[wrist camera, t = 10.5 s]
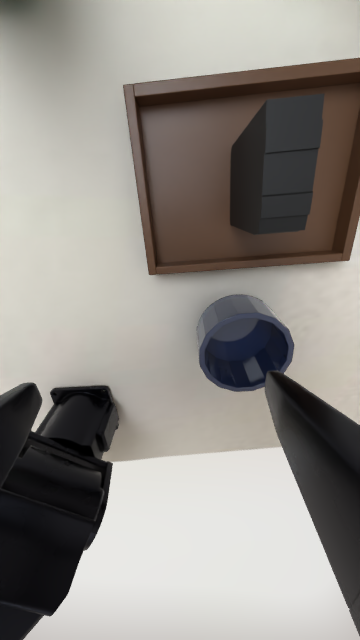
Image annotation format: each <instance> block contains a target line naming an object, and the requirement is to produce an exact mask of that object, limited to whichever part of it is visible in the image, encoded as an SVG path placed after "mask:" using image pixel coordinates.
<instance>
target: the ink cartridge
mask: <svg viewBox="0 0 360 640" xmlns="http://www.w3.org/2000/svg"><path fill="white" fill-rule="evenodd" d="M324 95H325V93H324V94H315V95H305V96H296V97H287V98H278V99H269V100H266V101H265V103H264V104H263V105H262V107H261V108H260V109H259V111H258V112H257V113H256V115H255V116H254V117H253V119H252V120H251V121H250V123H249V124H248V125H247V127H246V128H245V129H244V131H243V132H242V133H241V135H240V136H239V137H238V139H237V140H236V141H235V143H234V144H233V145H232V148H231V163H230V225H231V226H234V227H236V228H239V229H241V230H244V231H246V232H248V233H251V234H253V235H260V234H272V233H285V232H297V231H300V230H305V227H306V222H307V218H308V215H309V214H310V210H311V204H312V198H313V184H314V178H315V171H316V164H317V157H318V150H319V148H320V144H321V135H322V127H323V119H322V114H323V104H324Z"/></svg>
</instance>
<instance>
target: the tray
mask: <svg viewBox="0 0 360 640" xmlns="http://www.w3.org/2000/svg"><path fill="white" fill-rule="evenodd" d="M123 88H124V96H125V103H126V110H127V118H128V125H129V132H130V140H131V147H132V154H133V161H134V169H135V176H136V183H137V191H138V198H139V205H140V213H141V220H142V227H143V235H144V242H145V249H146V257H147V264H148V271H149V275H156V274H170V273H184V272H197V271H211V270H225V269H239V268H253V267H266V266H280V265H294V264H308V263H322V262H336V261H349V260H350V255H351V251H352V247H353V242H354V238H355V234H356V229H357V225H358V221H359V216H360V58H354V59H345V60H336V61H328V62H319V63H310V64H301V65H293V66H284V67H275V68H266V69H258V70H249V71H240V72H231V73H223V74H214V75H205V76H197V77H188V78H179V79H170V80H162V81H153V82H144V83H135V84H127V85H123ZM324 93H325V95H324V104H323V114H322V119H323V127H322V135H321V144H320V148H319V150H318V157H317V164H316V171H315V178H314V184H313V198H312V204H311V210H310V214H309V215H308V218H307V222H306V227H305V230H300V231H297V232H285V233H272V234H260V235H253V234H251V233H248V232H246V231H244V230H241V229H239V228H236V227H234V226H231V225H230V163H231V148H232V145H233V144H234V143H235V141H236V140H237V139H238V137H239V136H240V135H241V133H242V132H243V131H244V129H245V128H246V127H247V125H248V124H249V123H250V121H251V120H252V119H253V117H254V116H255V115H256V113H257V112H258V111H259V109H260V108H261V107H262V105H263V104H264V103H265V101H266V100H269V99H278V98H287V97H296V96H305V95H315V94H324Z"/></svg>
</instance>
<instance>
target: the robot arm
mask: <svg viewBox="0 0 360 640" xmlns="http://www.w3.org/2000/svg"><path fill="white" fill-rule="evenodd" d="M103 390H105V391H103ZM265 394H266V398H267V401H268V405H269V408H270V412H271V415H272V419H273V422H274V426H275V429H276V432H277V435H278V438H279V440H280V443H281V445H282V448H283V450H284V453H285V455H286V457H287V460H288V462H289V465H290V467H291V470H292V472H293V474H294V477H295V479H296V481H297V484H298V487H299V489H300V492H301V494H302V496H303V499H304V501H305V504H306V506H307V508H308V511H309V513H310V515H311V518H312V521H313V523H314V526H315V528H316V530H317V533H318V535H319V538H320V540H321V543H322V545H323V547H324V550H325V552H326V554H327V557H328V560H329V562H330V565H331V567H332V570H333V572H334V574H335V576H336V579H337V582H338V584H339V587H340V589H341V591H342V594H343V596H344V599H345V601H346V604H347V606H348V608H349V609H350V610H349V611H350V614H351V616H352V619H353V621H354V624H355V626H356V628H357V631H358V633H359V636H360V425H358V424H357V423H355V422H354V421H353V420H351V419H350V418H348V417H347V416H345V415H344V414H342V413H341V412H339V411H338V410H336V409H335V408H333V407H332V406H330V405H329V404H327V403H326V402H324V401H323V400H321V399H320V398H319V397H317V396H316V395H314V394H313V393H311V392H310V391H308V390H307V389H305V388H304V387H302V386H301V385H299V384H298V383H296V382H295V381H293V380H292V379H290V378H289V377H287V376H286V375H285V374H283V373H282V372H280V371H278V370H275V371H268V372H267V373H266V381H265ZM50 395H51V397H52V399H53V402H54V405H53V407H52V408H51V410H50V411H49V413H48V414H47V416H46V417H45V419H44V420H43V422H42V423H41V424H40V426H39V427H38V429H37V430H36V432H32V431H31V428H32V426H33V424H34V421H35V419H36V416H37V414H38V412H39V409H40V407H41V404H42V397H41V395H40V393H39V390H38V388H37V386H36V384H35V383H23V384H20V385H19V386H17V387H15V388H13V389H11V390H10V391H8V392H6V393H4V394H2V395H1V396H0V640H23V639H24V638H25V637H26V635H27V634H28V633H29V632H30V631H31V630H32V629H33V627H34V626H35V625H36V624H37V623H38V622H39V620H40V619H41V618H42V617H43V616H44V615H46V616H52V615H53V614H54V612H55V611H56V610H57V608H58V607H59V606H60V604H61V603H62V602H63V600H64V599H65V597H66V596H67V594H68V592H69V589H70V587H71V584H72V581H73V578H74V575H75V572H76V569H77V566H78V563H79V560H80V558H81V555H82V553H83V551H84V550H87V549H88V548H89V546H90V545H91V543H92V542H93V540H94V538H95V536H96V534H97V532H98V529H99V527H100V525H101V522H102V519H103V516H104V513H105V510H106V506H107V500H108V493H109V486H110V479H111V472H112V465H113V463H111V462H108V461H107V462H105V461H103V460H101V459H102V456H103V453H104V452H107V451H108V450H109V449H110V446H111V442H112V439H113V436H114V433H115V430H117V429H118V426H119V424H118V420H119V418H118V414H117V410H116V406H115V404H114V402H113V401H112V398H111V394H110V390H109V388H108V387H107V386H90V387H69V388H54V389H52V391H51V392H50Z"/></svg>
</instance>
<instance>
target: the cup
mask: <svg viewBox="0 0 360 640" xmlns="http://www.w3.org/2000/svg"><path fill="white" fill-rule="evenodd" d="M197 342H198V352H199V363H200V367H201V369H202V370H203V372H204V374H205V375H206V377H207V378H208V379H209V380H210V381H212V382H213V383H214V384H216V385H217V386H218V387H220V388H224V389H227V390H231V391H236V392H239V391H252V390H253V391H254V390H256V389H259V388H262V387H265V381H266V373H267V372H268V371H275V370H278V371H280V372H282V373H283V374H284V372H285V371H286V369H287V368H288V366H289V364H290V363H291V361H292V357H293V350H294V343H293V340H292V337H291V334H290V331H289V329H288V328H287V327H286V326H285V325H284V324H283V322H282V321H281V320H280V319H279V318H278V317H277V315H276V314H275V313H274V312H273V311H272V310H271V309H270V308H269V307H268V306H267V305H266V304H265V303H264V302H263V301H262V300H259V299H258V298H255V297H252V296H249V295H231V296H227V297H224V298H221V299H219V300H217V301H215V302H214V303H213V304H211V305H210V306H209V307H208V308H207V309H206V310H205V311H204V313H203V314H202V316H201V318H200V320H199V323H198V326H197Z"/></svg>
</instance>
